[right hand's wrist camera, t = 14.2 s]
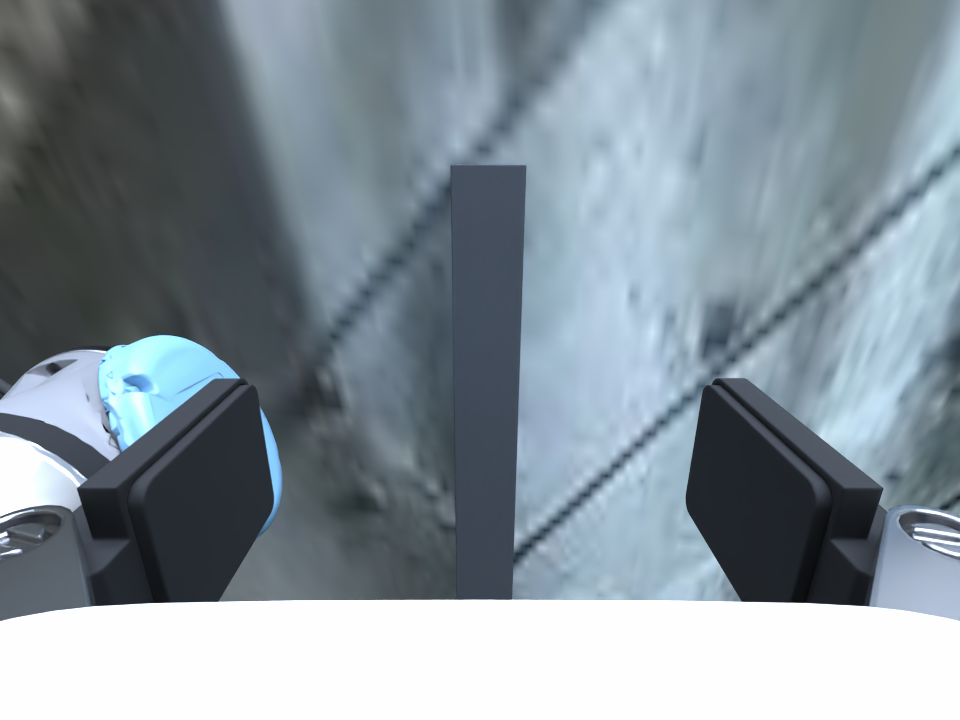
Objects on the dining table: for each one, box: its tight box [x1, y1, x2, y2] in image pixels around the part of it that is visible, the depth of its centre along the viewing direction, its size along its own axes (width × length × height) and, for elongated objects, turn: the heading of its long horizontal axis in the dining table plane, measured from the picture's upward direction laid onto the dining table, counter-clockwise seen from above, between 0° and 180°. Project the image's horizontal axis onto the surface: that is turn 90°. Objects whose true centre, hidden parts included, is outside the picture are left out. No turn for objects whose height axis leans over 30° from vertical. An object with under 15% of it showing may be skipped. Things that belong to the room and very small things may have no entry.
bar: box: [451, 164, 526, 600], centre depth 45 cm, size 61×4×7 cm, turn 0°
